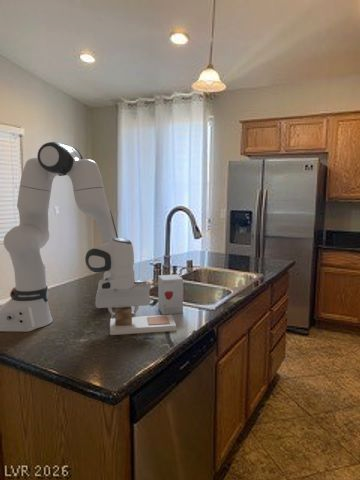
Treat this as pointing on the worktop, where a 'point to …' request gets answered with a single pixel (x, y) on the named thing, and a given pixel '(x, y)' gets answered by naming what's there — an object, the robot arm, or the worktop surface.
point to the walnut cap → (123, 316)
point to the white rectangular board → (142, 326)
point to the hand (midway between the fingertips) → (123, 317)
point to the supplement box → (170, 294)
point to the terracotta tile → (158, 320)
